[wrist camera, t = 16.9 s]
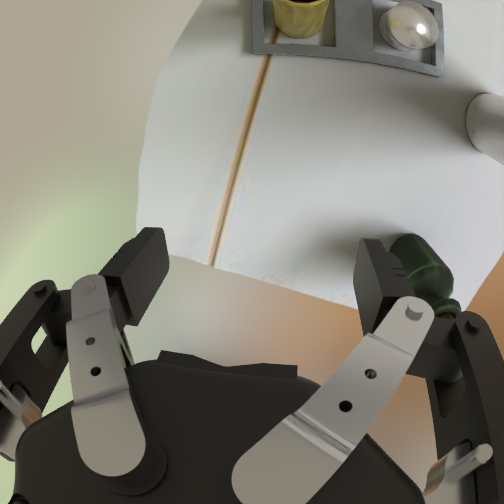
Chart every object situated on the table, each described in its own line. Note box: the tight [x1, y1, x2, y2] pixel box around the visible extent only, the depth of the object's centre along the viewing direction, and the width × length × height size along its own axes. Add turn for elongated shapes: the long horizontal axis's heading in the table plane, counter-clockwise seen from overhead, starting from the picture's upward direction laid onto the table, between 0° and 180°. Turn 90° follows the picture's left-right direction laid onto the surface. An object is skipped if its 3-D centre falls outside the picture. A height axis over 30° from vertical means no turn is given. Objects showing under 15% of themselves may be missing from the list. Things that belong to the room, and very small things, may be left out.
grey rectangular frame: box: [252, 0, 444, 78], centre depth 24 cm, size 24×11×5 cm, turn 91°
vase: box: [272, 0, 330, 38], centre depth 21 cm, size 6×6×14 cm
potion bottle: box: [390, 234, 461, 321], centre depth 34 cm, size 8×8×18 cm
